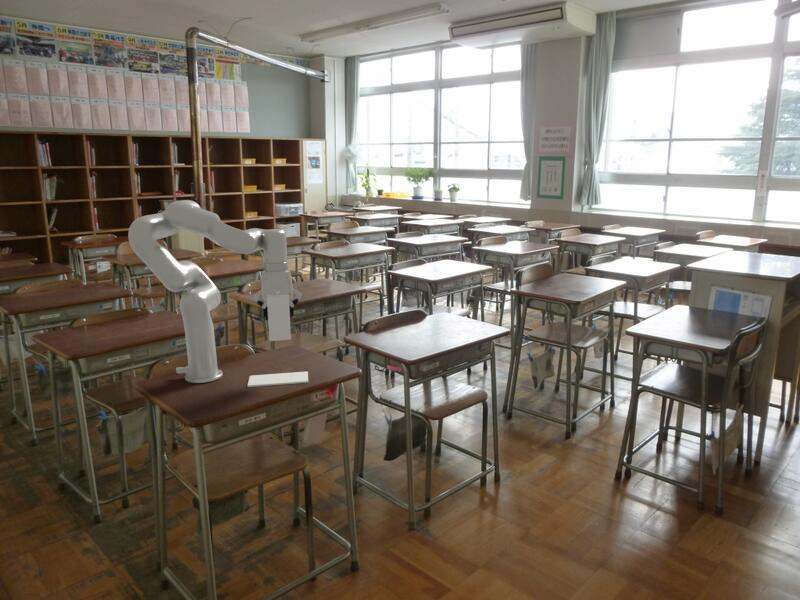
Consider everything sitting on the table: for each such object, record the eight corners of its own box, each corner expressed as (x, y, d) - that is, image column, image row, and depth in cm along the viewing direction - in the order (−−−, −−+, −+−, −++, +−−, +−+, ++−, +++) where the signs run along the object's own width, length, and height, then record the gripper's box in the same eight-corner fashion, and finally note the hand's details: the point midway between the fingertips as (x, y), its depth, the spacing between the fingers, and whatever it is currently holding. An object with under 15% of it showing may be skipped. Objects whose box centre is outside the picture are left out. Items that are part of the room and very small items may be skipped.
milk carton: (269, 335, 210) (266, 281, 206) (289, 334, 212) (287, 280, 208) (269, 341, 204) (266, 285, 200) (291, 340, 205) (288, 284, 201)
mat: (247, 387, 203) (247, 385, 203) (250, 377, 213) (249, 375, 213) (308, 382, 206) (308, 381, 206) (307, 373, 216) (307, 371, 216)
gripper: (248, 269, 197) (251, 322, 201) (302, 267, 200) (305, 320, 204) (249, 266, 205) (253, 317, 208) (302, 264, 208) (304, 314, 212)
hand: (278, 318), depth 206 cm, fingers closed on milk carton, 7 cm apart
